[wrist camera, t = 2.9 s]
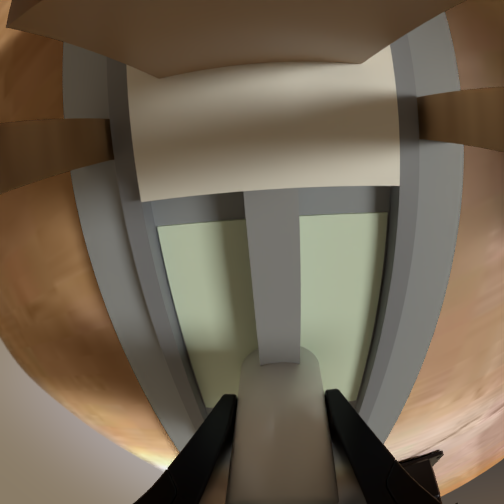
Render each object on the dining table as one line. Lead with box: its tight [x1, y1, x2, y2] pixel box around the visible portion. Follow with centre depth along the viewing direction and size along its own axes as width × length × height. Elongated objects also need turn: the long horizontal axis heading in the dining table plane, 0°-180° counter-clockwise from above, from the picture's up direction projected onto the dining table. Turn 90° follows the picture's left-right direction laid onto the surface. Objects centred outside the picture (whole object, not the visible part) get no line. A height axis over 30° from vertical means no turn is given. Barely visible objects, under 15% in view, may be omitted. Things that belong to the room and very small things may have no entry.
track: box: [63, 12, 464, 452], centre depth 9 cm, size 27×12×2 cm, turn 5°
